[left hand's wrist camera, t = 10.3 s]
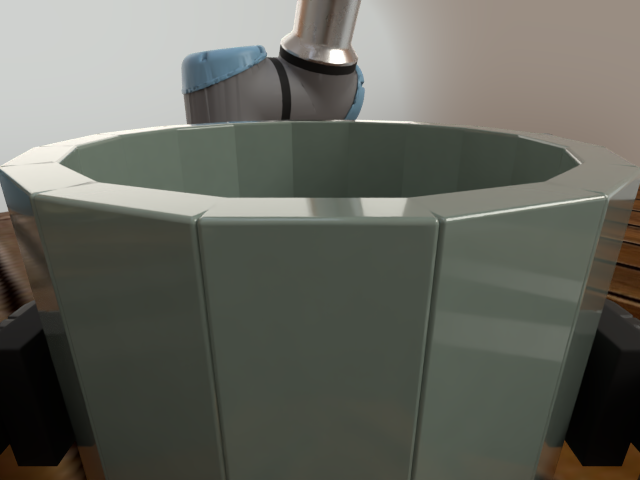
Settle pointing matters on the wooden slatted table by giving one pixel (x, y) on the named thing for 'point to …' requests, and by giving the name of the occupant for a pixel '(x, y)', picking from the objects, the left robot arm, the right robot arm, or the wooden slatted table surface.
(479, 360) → the pot
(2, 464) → the wooden slatted table surface
